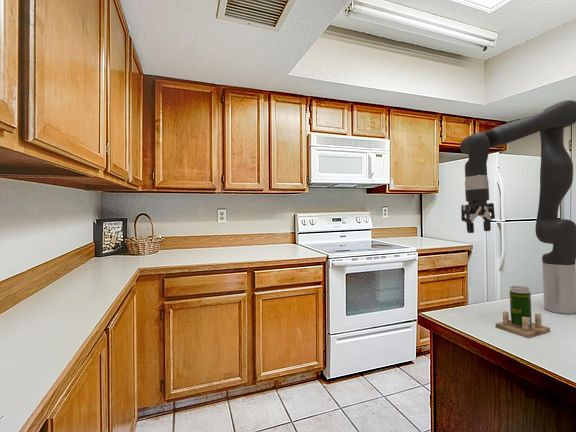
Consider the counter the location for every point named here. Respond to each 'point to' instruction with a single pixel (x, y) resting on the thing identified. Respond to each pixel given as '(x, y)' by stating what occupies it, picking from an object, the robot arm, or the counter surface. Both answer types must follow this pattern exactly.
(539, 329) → the dowel holder
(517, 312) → the beer can
